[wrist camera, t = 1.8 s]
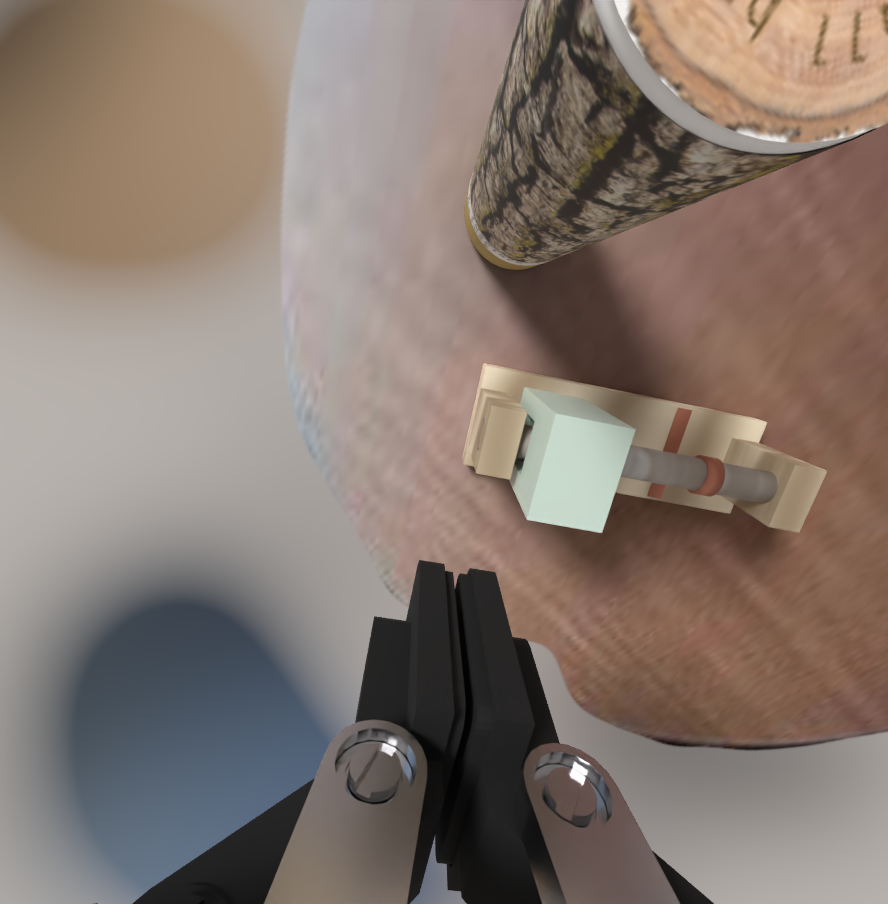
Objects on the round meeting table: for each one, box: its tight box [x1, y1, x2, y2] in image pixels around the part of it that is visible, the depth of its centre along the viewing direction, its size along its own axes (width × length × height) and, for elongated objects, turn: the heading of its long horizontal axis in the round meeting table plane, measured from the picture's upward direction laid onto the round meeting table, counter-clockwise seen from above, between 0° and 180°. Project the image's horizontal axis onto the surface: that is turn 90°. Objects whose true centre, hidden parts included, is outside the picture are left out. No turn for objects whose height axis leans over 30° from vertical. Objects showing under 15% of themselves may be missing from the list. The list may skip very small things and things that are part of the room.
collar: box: [509, 387, 636, 533], centre depth 27 cm, size 4×6×8 cm
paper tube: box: [464, 0, 888, 270], centre depth 18 cm, size 7×7×25 cm
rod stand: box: [462, 363, 827, 532], centre depth 31 cm, size 20×7×8 cm, turn 79°
